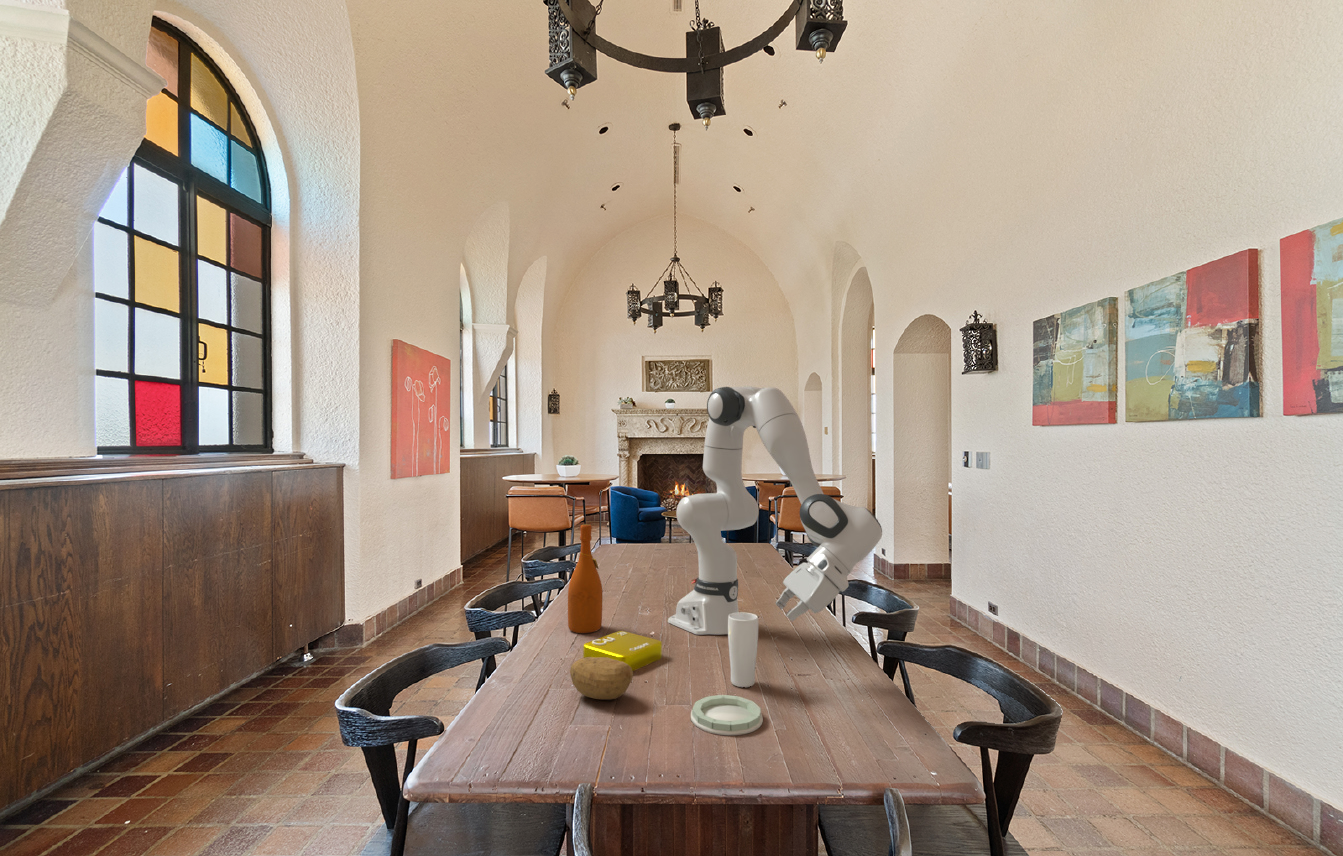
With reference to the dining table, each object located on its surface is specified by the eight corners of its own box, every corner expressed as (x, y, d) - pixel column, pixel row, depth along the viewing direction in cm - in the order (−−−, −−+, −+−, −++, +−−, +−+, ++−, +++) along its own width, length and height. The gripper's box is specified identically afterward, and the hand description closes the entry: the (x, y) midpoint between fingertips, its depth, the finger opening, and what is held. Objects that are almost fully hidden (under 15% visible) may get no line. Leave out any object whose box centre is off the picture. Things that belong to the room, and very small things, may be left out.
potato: (584, 683, 136) (584, 647, 136) (640, 695, 130) (641, 657, 130) (558, 700, 127) (559, 661, 127) (617, 713, 121) (618, 672, 121)
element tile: (625, 676, 141) (625, 655, 141) (579, 662, 150) (579, 642, 150) (665, 658, 153) (665, 639, 153) (620, 646, 162) (620, 627, 162)
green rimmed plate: (675, 718, 119) (675, 709, 119) (720, 697, 129) (720, 688, 129) (733, 743, 109) (733, 733, 109) (776, 718, 119) (776, 708, 120)
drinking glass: (757, 691, 132) (757, 621, 133) (725, 688, 134) (726, 619, 134) (758, 679, 139) (759, 612, 139) (729, 676, 140) (729, 611, 141)
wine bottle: (599, 634, 170) (600, 526, 170) (564, 634, 170) (565, 526, 171) (604, 624, 180) (605, 522, 180) (570, 623, 180) (572, 521, 180)
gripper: (803, 550, 148) (763, 591, 148) (830, 567, 128) (784, 615, 127) (821, 568, 149) (781, 609, 148) (851, 588, 128) (805, 636, 127)
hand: (783, 612), depth 137 cm, fingers open, 8 cm apart
